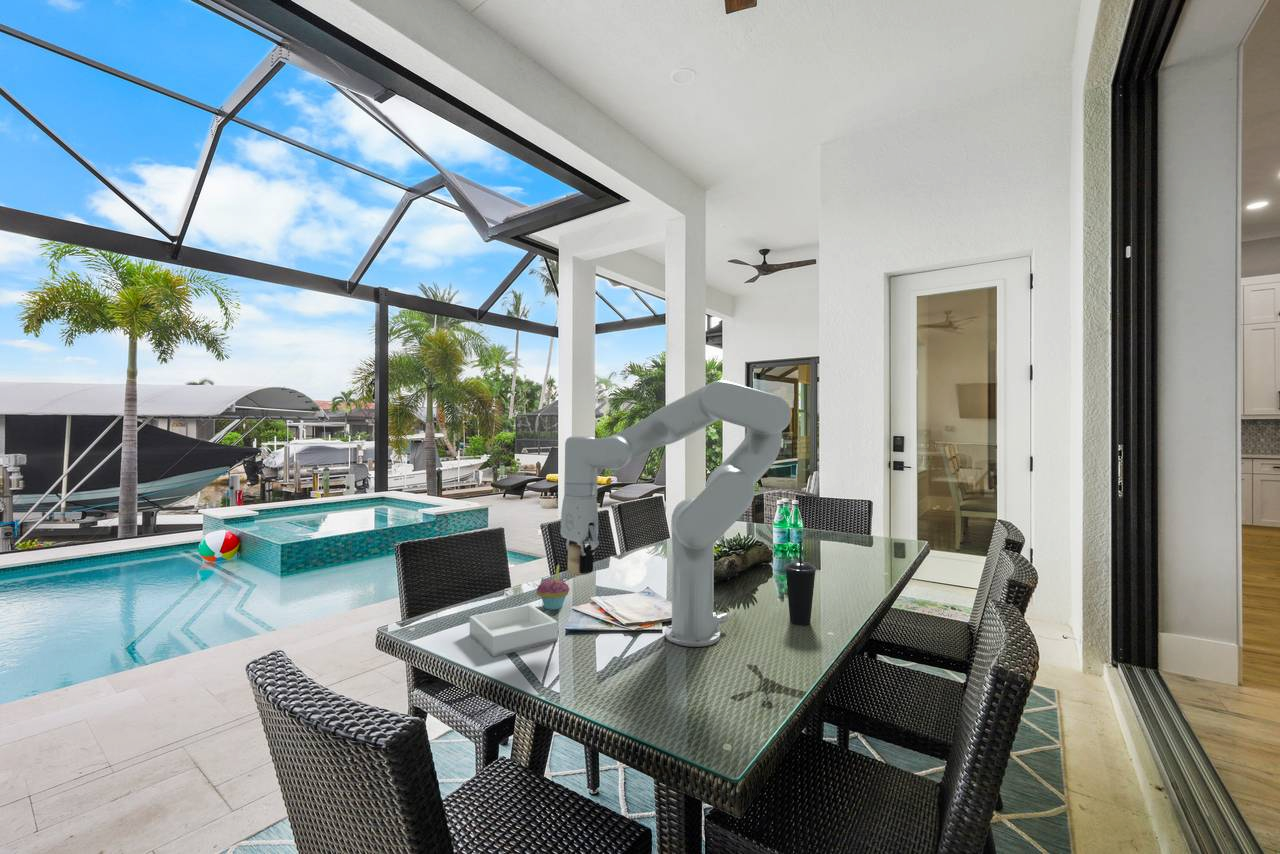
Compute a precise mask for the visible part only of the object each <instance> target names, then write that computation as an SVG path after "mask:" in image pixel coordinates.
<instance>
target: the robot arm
mask: <svg viewBox="0 0 1280 854" xmlns="http://www.w3.org/2000/svg"><path fill="white" fill-rule="evenodd" d="M792 417H793V416H792V409H791V406H790V404H789V403H788V402H787V401H786V400H785V398H783V397H781V396H779V395H777V394H773V393H770V392H766V391H763V390H759V389H756V388H751V387H749V386H745V385H741V384H738V383H734V382H730V381H728V380H723V379H722V380H715V381H712V382H710V383H708V384H706V385H704V386H702V387H699V388H698V389H697V390H694V391H691V392H690V393H688V394H687V395H684V396H683V397H680V398H678V399H676V400H674V401H672V402H671V403H669V404H667V405H665V406H662V407H660V408H659V409H656V410H655V411H654V412H653V413H651V414H650V415H649V416H647V417H645V418H644V419H642V420H640V421H637V422H636V423H634V424H633V425H630V426H629V427H626V428H625V429H623V430H620V431H618V432H617V433H614V434H613V435H610V436H607V437H599V438H595V437H594V436H581V435H580V436H576V435H575V436H569V437H567V438H566V440H565V442H564V487H563V490H564V491H563V492H564V493H563V494H564V495H563V499H562V500H563V501H562V507H561V515H560V535H561V537H562V538H564V541H565V548H566V568H568V545H570V544H575V543H580V547H581V554H582V555H580V565H579V572H580V573H581V574H583V573H589V572H591V573H592V572H593V571H594V555H595V553H596V552H595V551H596V549H597V547H598V546H599V545H600V541H599V538H598V535H599V514H598V513H599V511H598V501H597V498H598V477H599V476H598V470H599V469H603V470H611V471H617V470H621V469H623V468H625V467H626V466H627V464H629V462H631V461H632V460H634V459H637V458H638V457H640V456H643V455H644V454H646V453H648V452H650V451H653V450H655V449H657V448H660V447H664V446H667V445H671V444H674V443H676V442H679V441H682V440H683V439H685V438H687V437H689V436H691V435H692V434H695V433H696V432H699V431H701V430H703V429H705V428H707V427H708V426H710V425H712V424H714V423H716V422H719V421H720V420H721V421H723V422H726V423H730V424H733V425H737V426H740V427H742V428H746V433H745V436H744V439H743V440H742V441H741V443H740V444H739V445H738V446H737V447H736V448H735V450H734V451H733V452H732V453H731V454H730V455H729V456H728V457H727V458H726V459H725V460H724V461H723V462H722V463H721V464H720V465H718V467H717V468H715V469H714V470H713V471H712V472H711V473H710V474H709V476H708V478H707V479H706V483H705V488H704V489H703V490H702V491H701V492H700V493H699V494H698V495H697V496H696V497H695V498H693V497H692V498H691V497H690V498H689V497H688V498H686V499H682V501H680V502H678V504H676V506H675V508H674V509H673V511H672V514H671V525H670V526H671V556H672V558H671V560H672V562H671V565H672V567H671V625H669V626H667V627H666V628H665V630H664V637H665V638H666V640H668V641H669V642H671V643H673V644H675V645H679V646H681V647H682V646H684V647H691V648H692V647H693V648H695V647H696V648H699V647H708V646H711V645H714V644H716V643H718V642H719V641H720V639H721V631H720V630H719V629H718V628H717V627H718V626H719V625H720V624H724V623H727V622H728V621H729V615H728V613H722V614H719V615H717V613H716V612H714V599H715V597H714V591H715V590H714V586H715V585H714V581H715V580H714V579H715V577H714V576H715V575H714V573H715V572H714V570H715V550H714V549H715V548H714V547H715V546H714V543H715V542H717V541H718V540H719V539H720V538H721V537H722V536H723V535H724V534H725V533H726V532H727V531H728V530H729V529H730V528H732V526H733V525H734V524H735V523H736V522H737V521H738V520H739V519H740V518H741V516H743V515H744V514H745V513H746V511H747V510H748V509H749V507H750V506H751V504H752V503H753V501H754V498H755V495H756V494H755V493H756V491H755V485H756V483H757V482H758V481H759V480H760V479H761V478H762V477H763V476H764V475H765V474H766V473H767V472H768V471H769V469H770V468H771V467H772V466H773V464H774V462H775V461H776V459H777V458H778V455H779V453H780V451H781V447H782V441H783V431H784V430H785V429H786V428H787V427H789V424H790V423H791V420H792ZM585 544H589V545H587V547H586V548H585Z"/></svg>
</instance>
